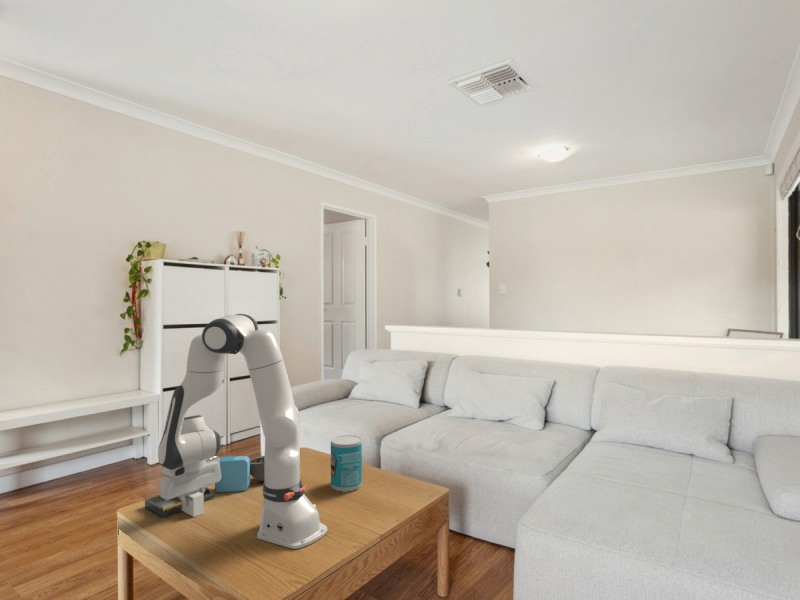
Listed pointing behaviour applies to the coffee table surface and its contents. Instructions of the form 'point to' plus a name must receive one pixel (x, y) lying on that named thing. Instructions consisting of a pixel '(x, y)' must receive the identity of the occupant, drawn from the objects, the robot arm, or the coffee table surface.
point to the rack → (170, 504)
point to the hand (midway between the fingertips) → (192, 503)
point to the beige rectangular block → (194, 503)
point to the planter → (257, 468)
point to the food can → (346, 463)
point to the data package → (234, 474)
